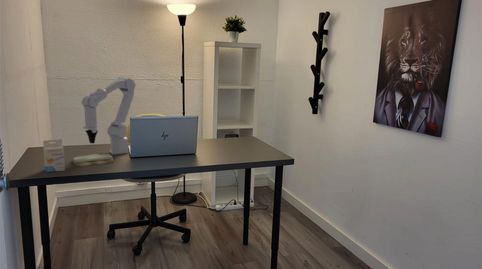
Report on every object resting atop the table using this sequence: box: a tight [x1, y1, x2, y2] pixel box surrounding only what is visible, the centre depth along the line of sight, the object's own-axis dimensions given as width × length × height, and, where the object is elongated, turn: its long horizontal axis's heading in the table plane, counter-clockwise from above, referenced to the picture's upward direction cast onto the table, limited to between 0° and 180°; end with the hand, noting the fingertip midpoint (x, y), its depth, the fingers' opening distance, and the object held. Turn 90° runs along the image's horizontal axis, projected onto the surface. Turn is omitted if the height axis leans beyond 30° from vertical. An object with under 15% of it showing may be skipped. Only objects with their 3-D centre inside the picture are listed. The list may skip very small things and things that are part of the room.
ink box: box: [43, 138, 66, 173], centre depth 174 cm, size 8×5×15 cm, turn 123°
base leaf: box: [72, 152, 114, 167], centre depth 191 cm, size 18×11×3 cm, turn 123°
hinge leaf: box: [73, 153, 114, 163], centre depth 192 cm, size 18×10×2 cm, turn 123°
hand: (92, 143), depth 195 cm, fingers closed
